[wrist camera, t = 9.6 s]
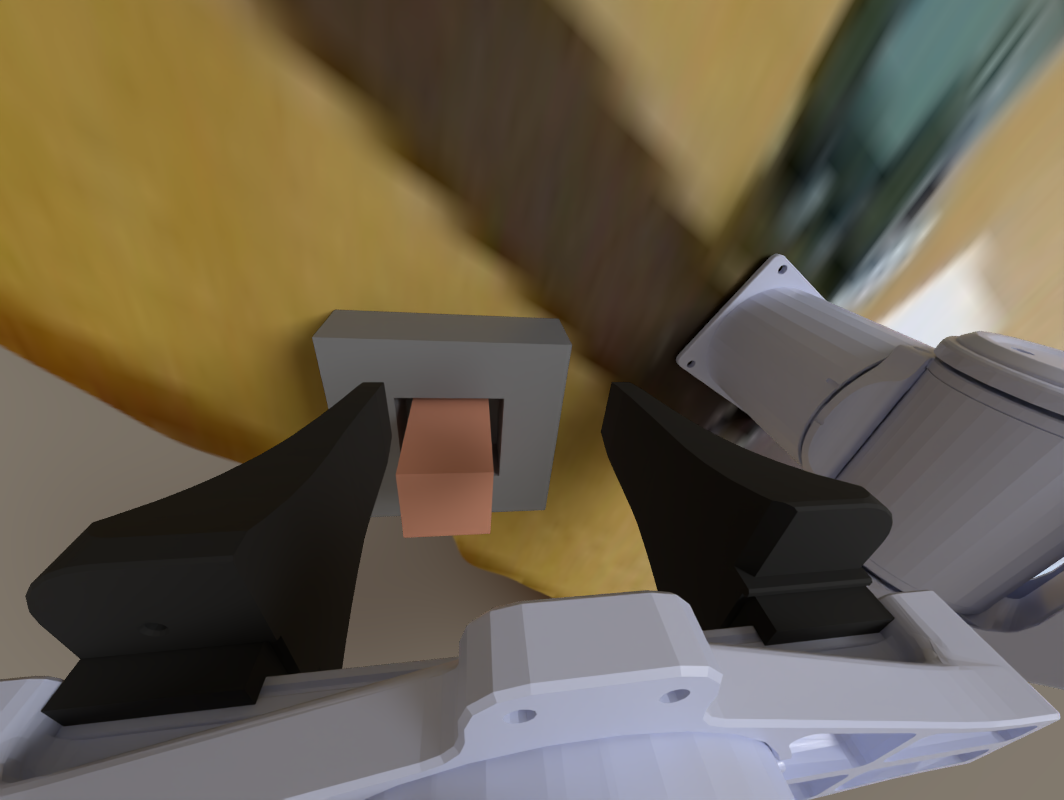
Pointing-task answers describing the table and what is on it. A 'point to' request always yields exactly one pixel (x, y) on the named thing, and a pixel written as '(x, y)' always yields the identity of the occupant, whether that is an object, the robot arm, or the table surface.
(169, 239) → the table surface
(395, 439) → the socket
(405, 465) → the peg
